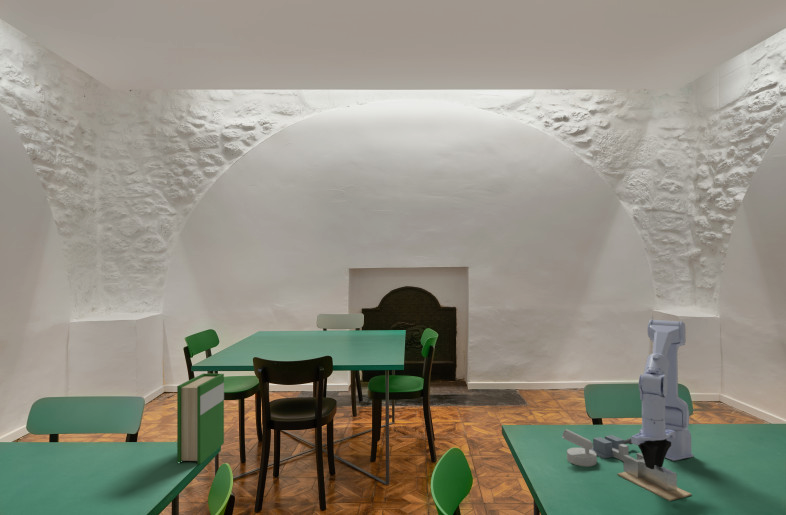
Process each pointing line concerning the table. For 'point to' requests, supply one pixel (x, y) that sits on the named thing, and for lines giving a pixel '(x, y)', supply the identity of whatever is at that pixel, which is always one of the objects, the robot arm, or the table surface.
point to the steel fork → (650, 472)
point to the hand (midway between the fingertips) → (653, 466)
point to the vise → (611, 447)
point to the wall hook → (580, 450)
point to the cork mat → (655, 487)
